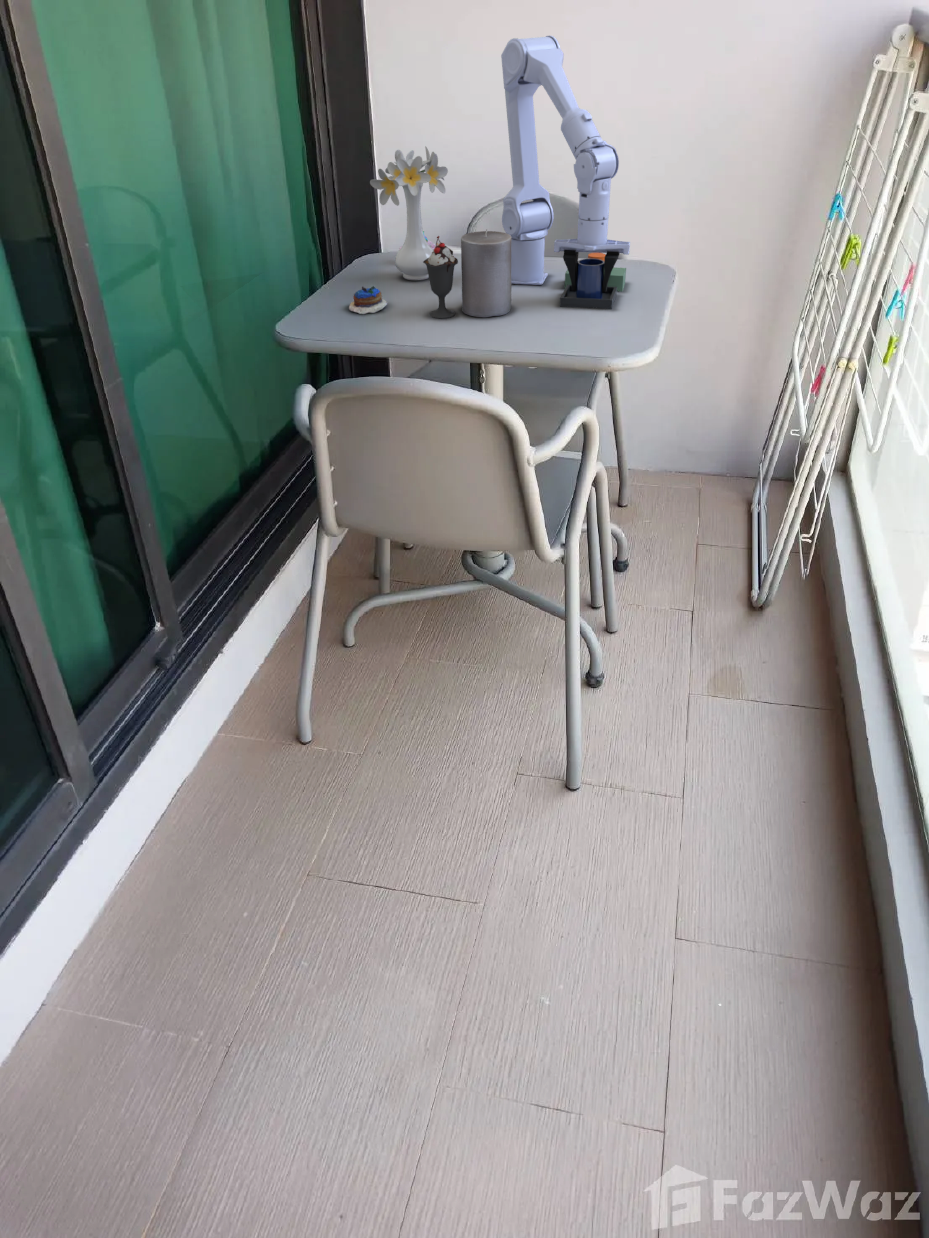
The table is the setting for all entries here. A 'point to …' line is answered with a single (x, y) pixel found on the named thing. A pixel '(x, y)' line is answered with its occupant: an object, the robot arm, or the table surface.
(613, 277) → the green button base
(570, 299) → the tray
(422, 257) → the flower vase
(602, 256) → the button
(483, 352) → the table surface
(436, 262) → the sundae
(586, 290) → the cup
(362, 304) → the dessert
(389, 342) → the table surface
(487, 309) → the pillar candle
